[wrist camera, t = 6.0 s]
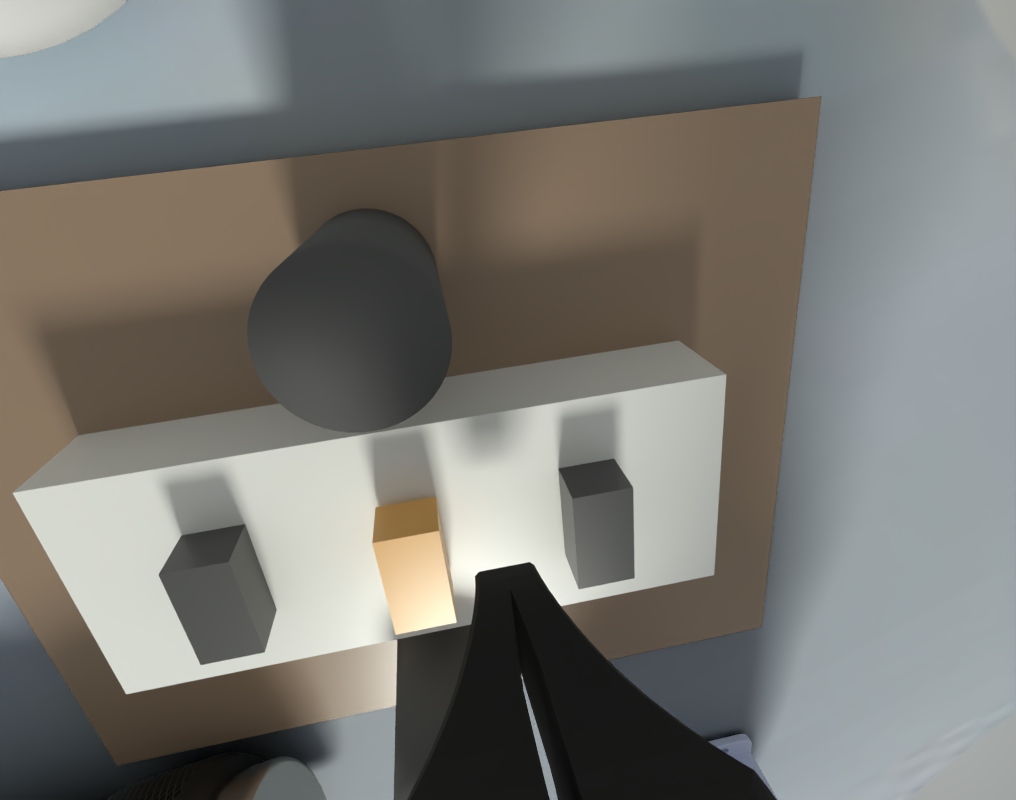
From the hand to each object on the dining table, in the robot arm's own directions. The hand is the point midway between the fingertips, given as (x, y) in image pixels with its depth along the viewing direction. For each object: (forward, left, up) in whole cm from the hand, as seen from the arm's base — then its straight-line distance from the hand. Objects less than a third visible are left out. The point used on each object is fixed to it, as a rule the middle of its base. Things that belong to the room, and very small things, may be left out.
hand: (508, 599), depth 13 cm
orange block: (+2, 0, -3) cm, 4 cm away
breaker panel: (+2, 0, -7) cm, 7 cm away
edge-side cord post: (+2, -7, -6) cm, 9 cm away
